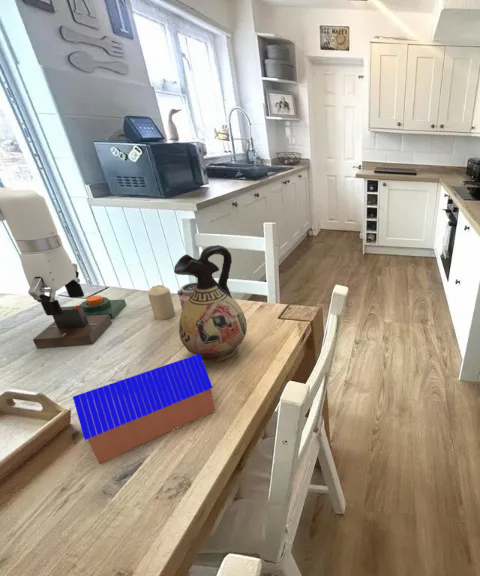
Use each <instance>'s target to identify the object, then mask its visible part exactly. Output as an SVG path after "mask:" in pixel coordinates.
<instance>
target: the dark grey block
mask: <svg viewBox="0 0 480 576" xmlns="http://www.w3.org/2000/svg"><path fill="white" fill-rule="evenodd" d="M60 307H61V309H62V311H63V314H61V315H51V316H52V318H53V322H54V321H55V323H56V325H57V327H58V329H60V328H75V327H85V326H86V325H87V324H88V320H87V318H86V315H85V312H84V310H83V307H82V306H81V305H80V304H79V305H75V306H74V305H73V306H60Z"/></svg>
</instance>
